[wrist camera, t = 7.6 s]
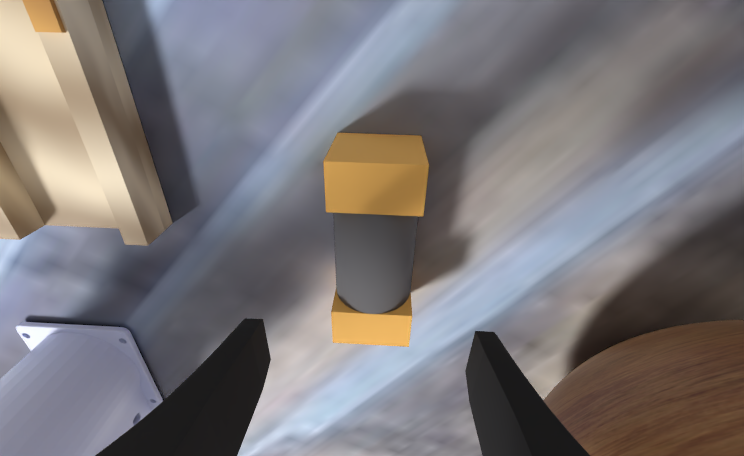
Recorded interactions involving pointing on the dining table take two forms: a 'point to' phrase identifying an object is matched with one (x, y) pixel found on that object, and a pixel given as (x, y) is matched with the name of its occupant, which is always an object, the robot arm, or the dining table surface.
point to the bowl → (659, 394)
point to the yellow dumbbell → (374, 233)
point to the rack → (71, 126)
